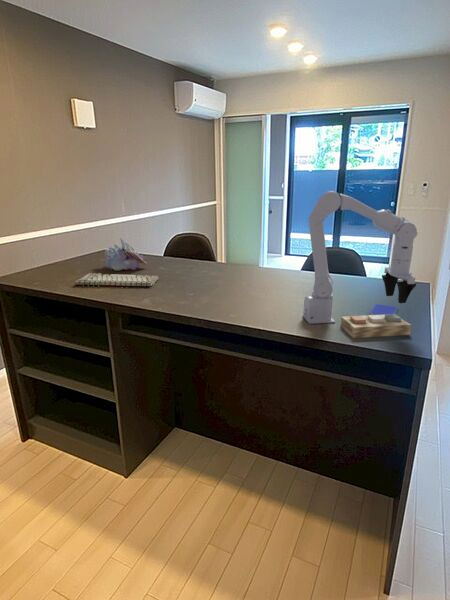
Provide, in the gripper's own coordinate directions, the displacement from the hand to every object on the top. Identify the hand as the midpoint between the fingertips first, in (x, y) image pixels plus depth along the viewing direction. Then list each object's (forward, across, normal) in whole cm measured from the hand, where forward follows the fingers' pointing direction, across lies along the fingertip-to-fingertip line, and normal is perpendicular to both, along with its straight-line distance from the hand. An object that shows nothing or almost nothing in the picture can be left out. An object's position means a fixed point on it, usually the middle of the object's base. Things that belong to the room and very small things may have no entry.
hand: (395, 299), depth 129 cm
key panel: (+10, -3, +8) cm, 13 cm away
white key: (+7, -3, +8) cm, 11 cm away
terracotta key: (+7, -3, +14) cm, 16 cm away
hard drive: (+10, +13, -4) cm, 17 cm away
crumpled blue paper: (+10, +100, +100) cm, 142 cm away
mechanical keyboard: (+11, +70, +100) cm, 123 cm away
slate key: (+7, -3, +2) cm, 8 cm away
